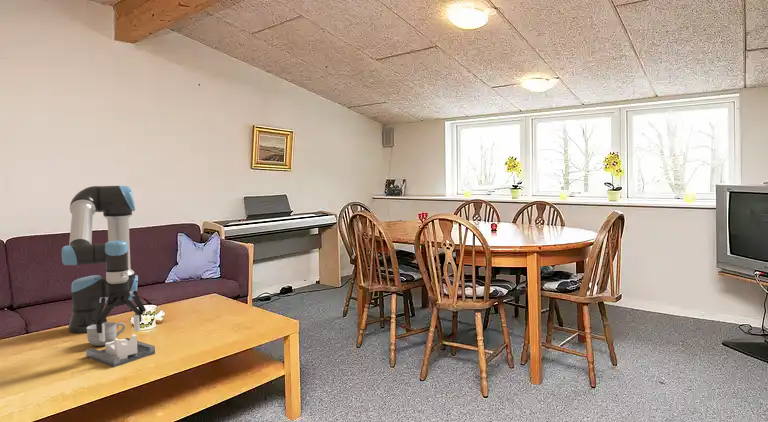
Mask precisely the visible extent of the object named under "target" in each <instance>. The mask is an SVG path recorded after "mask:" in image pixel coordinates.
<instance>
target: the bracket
mask: <svg viewBox="0 0 768 422" xmlns="http://www.w3.org/2000/svg"><path fill="white" fill-rule="evenodd" d="M129 339H130V340H129V341H128V340H126V339H124V338H122V339H121V338H120V339H119V338H117V337H116V338H115V339H114V340H113V341H112V342H107V343H105V345H104V349H105V351H106V353H108V354H111V355H114V356H117V357H119V360H121V359H125V358H128V355H131V354H135V353H137V341H138V335H136V334H131V337H130V338H129Z"/></svg>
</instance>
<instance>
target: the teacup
mask: <svg viewBox="0 0 768 422" xmlns="http://www.w3.org/2000/svg"><path fill="white" fill-rule="evenodd" d="M102 324H105V342H102V341H99V333H97V329H96V325H95V324H94V325H91V326H88V327H87V328H86V329H87V332H86V336H87V342H88V343H89V344H91V345H93V346H94V347H103V346H105V343H107V342H112V341H114V339H115V338H117V337H119V335H120V334H121V333H123V332H124V331H125V329H126V325H125V323H124V322H117V323H116V322H113V321H107V322H105V323H102ZM120 325H121V326H122V328H121V329H120V330H119V331H118V330H117V329H118V327H119V326H120ZM117 331H118V332H117Z"/></svg>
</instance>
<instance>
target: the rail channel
mask: <svg viewBox="0 0 768 422" xmlns="http://www.w3.org/2000/svg"><path fill="white" fill-rule="evenodd" d="M123 339H126V340H128V341H129V340H130V339H131V338H128V337H125V338H123ZM155 347H156V346H155V345H154V344H153V345H152V344H149V343H145V342H142V341H139V340H137V353H135V354H131V355H128V358H125V359H121V360H119V357H117V356H114V355H111V354H108V353H106V351H105V348H104V349H100V350H99V349H97V348H96V349H95V348H93V347H90V348H87V349H85V353H86V354H85V355H86V357H85V358H88V359H91V360H93V361H96V362H98V361H99V363H101V362H102V363H101V364H104V363H105V365H107V364H108V366H110V367H113V368H116V367H119V366H122V365H125V364H127V363H130V362H134V361H137V360H139V359H142V358H146V357H148V356H152V355H154V354H156V348H155Z"/></svg>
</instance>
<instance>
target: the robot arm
mask: <svg viewBox="0 0 768 422" xmlns="http://www.w3.org/2000/svg"><path fill="white" fill-rule="evenodd" d="M132 190H133V189H132V187H131V186H128V185H98V186H97V185H94V186H89V187H85V188H83V189H82V190H80V191H78V192H77V194H75V196H73V198H72V199H71V202H70V203H69V204H70V205H69V212H70V214H71V220H70V221H71V222H70V233H69V242H68V243H69V244H68V245H64V246H62V248H61V262H62V264H63V265H64V266H81V265H90V264H91V265H92V264H105V277H103V278H102V276H101V275H99V274H95V275H94V274H93V275H88V276H84V277H80V278H77V279H74V280H73V281H72V283H71V291H70V293H71V307H72V314H71V317H70V320H69V323H68V332H69V333H73V334H74V333H75V334H76V333H77V334H80V333H87V329H86V328H87V327H88V326H91V325H94V324H95V325H96V329H97V333H99V341H102V342H105V324H102V323H105V322H108V320H107V319H108V315H109V314H110V313H111V311H112V310H113V309H114V308H115V307H119V306H125V305H126V306H127V307H128V308H129V309H130V310H131V311H132V312H134V314H133V331H135V332H139V333H140V331H141V327H140V326H141V325H140V323H141V322H142V315H143V313H145V312H147V309H146V308H145V305H144V304H143V302H142V300H141V299H140V297H139V294H138V285H139V284H138V283H139V282H138V281H139V276H138V275H137V274H135V271H134V270H133V269H131V267H132V266H131V251H130V250H131V249H130V245H131V244H130V243H131V242H130V223H129V222H130V220H129V219H130V218H131V217H132V216H133V212H135V211H136V207H135V201H134V195H133V191H132ZM95 213H102V214H103V215H102V216H103V217H104V218H105V219H106V220H107V240H108V241H107V242H105V243H96V244H95V243H93V244H92V241H93V221H94V220H93V216H94V214H95ZM132 301H134V303H132Z"/></svg>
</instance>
